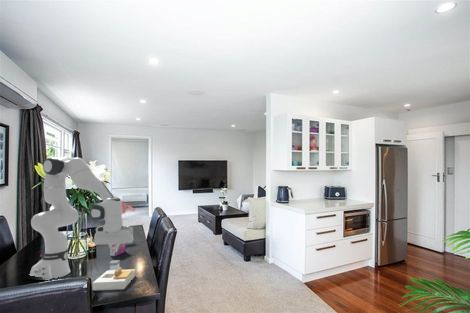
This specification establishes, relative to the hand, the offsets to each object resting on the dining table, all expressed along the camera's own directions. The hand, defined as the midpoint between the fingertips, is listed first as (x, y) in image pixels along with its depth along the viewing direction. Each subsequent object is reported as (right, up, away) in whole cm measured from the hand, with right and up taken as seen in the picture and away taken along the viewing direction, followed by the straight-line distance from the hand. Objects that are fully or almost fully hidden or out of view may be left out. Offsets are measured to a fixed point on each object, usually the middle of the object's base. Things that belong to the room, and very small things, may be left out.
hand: (114, 251), depth 143 cm
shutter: (+6, -12, -1) cm, 14 cm away
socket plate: (+1, -17, -1) cm, 17 cm away
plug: (-6, -18, +13) cm, 23 cm away
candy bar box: (-20, -20, +48) cm, 56 cm away
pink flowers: (-33, -22, +81) cm, 90 cm away
